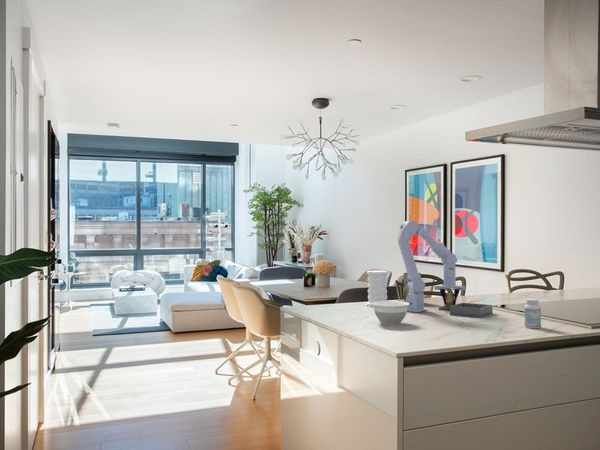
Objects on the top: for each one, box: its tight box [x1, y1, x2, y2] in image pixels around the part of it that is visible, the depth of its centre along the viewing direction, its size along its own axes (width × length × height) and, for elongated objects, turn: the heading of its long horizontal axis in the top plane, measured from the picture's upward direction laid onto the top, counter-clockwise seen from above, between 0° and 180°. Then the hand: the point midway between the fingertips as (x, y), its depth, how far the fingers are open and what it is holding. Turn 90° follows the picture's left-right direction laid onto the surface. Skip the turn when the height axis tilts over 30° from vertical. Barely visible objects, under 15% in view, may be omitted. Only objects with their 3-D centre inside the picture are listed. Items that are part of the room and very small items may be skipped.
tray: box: [449, 302, 494, 319], centre depth 256 cm, size 15×15×4 cm
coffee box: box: [403, 272, 422, 302], centre depth 298 cm, size 9×6×16 cm
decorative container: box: [366, 270, 389, 307], centre depth 289 cm, size 12×12×18 cm
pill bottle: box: [523, 298, 542, 330], centre depth 220 cm, size 6×6×11 cm
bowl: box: [372, 300, 410, 326], centre depth 234 cm, size 16×16×9 cm
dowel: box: [445, 292, 454, 307], centre depth 271 cm, size 4×4×8 cm
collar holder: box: [438, 305, 450, 312], centre depth 271 cm, size 8×8×2 cm
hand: (449, 304), depth 271 cm, fingers closed on dowel, 4 cm apart
